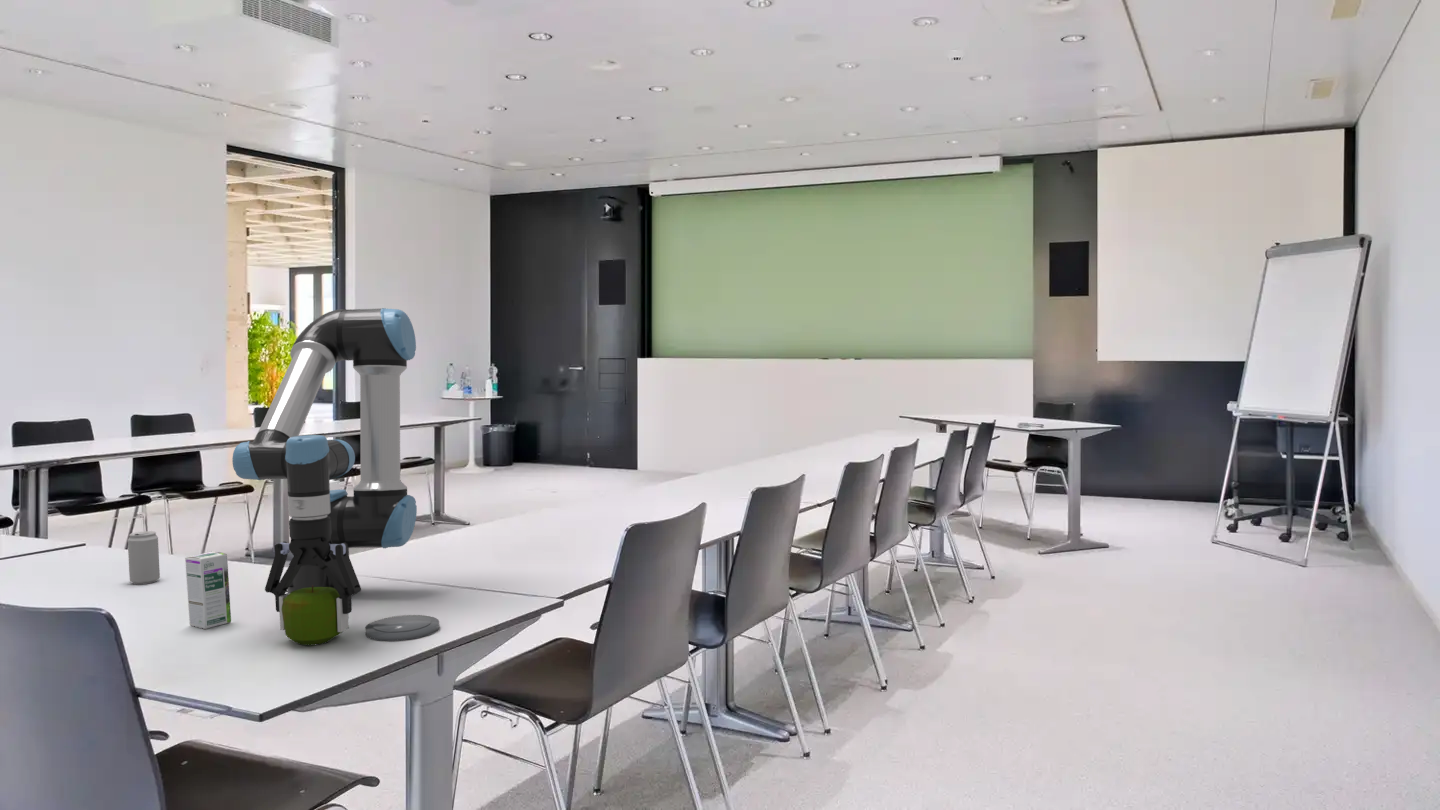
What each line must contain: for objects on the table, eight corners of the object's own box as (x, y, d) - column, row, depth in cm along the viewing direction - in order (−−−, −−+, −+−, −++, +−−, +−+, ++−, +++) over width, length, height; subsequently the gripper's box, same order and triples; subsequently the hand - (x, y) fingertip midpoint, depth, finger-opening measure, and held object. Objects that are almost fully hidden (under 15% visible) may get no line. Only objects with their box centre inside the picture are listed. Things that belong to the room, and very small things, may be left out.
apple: (356, 633, 203) (354, 579, 202) (323, 650, 192) (321, 592, 191) (306, 630, 205) (304, 577, 204) (271, 647, 195) (269, 590, 194)
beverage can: (123, 584, 247) (120, 534, 246) (147, 578, 253) (144, 529, 252) (142, 586, 245) (140, 536, 244) (166, 580, 251) (163, 531, 250)
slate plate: (351, 639, 199) (351, 632, 199) (386, 619, 212) (386, 612, 212) (420, 642, 196) (419, 634, 196) (450, 621, 210) (450, 614, 210)
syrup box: (205, 629, 207) (201, 558, 206) (188, 625, 210) (184, 555, 209) (231, 622, 212) (228, 553, 211) (214, 618, 215) (211, 550, 214)
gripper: (241, 519, 195) (246, 632, 197) (357, 521, 192) (361, 636, 193) (264, 512, 203) (269, 621, 204) (377, 514, 199) (381, 625, 200)
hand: (314, 629), depth 199 cm, fingers closed on apple, 11 cm apart
